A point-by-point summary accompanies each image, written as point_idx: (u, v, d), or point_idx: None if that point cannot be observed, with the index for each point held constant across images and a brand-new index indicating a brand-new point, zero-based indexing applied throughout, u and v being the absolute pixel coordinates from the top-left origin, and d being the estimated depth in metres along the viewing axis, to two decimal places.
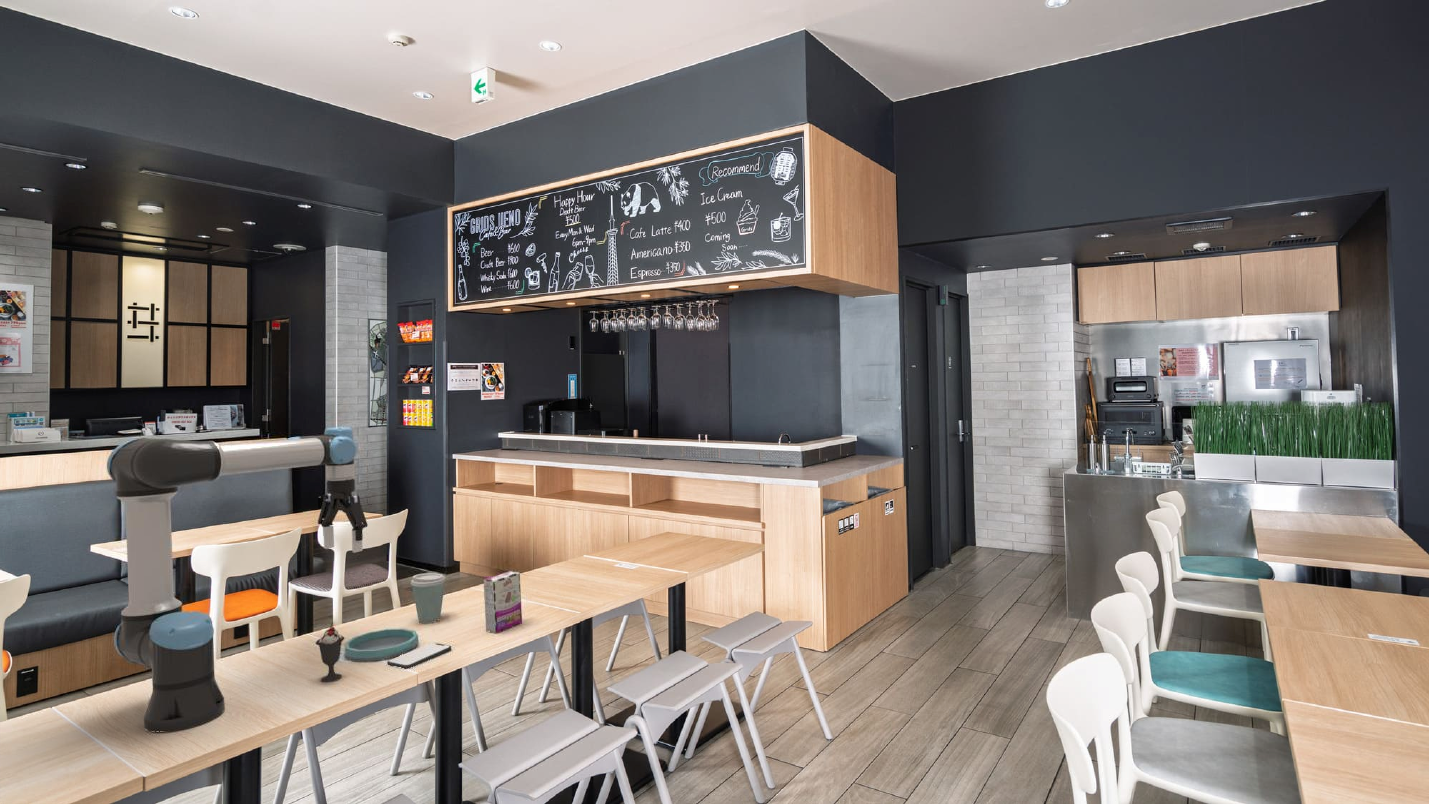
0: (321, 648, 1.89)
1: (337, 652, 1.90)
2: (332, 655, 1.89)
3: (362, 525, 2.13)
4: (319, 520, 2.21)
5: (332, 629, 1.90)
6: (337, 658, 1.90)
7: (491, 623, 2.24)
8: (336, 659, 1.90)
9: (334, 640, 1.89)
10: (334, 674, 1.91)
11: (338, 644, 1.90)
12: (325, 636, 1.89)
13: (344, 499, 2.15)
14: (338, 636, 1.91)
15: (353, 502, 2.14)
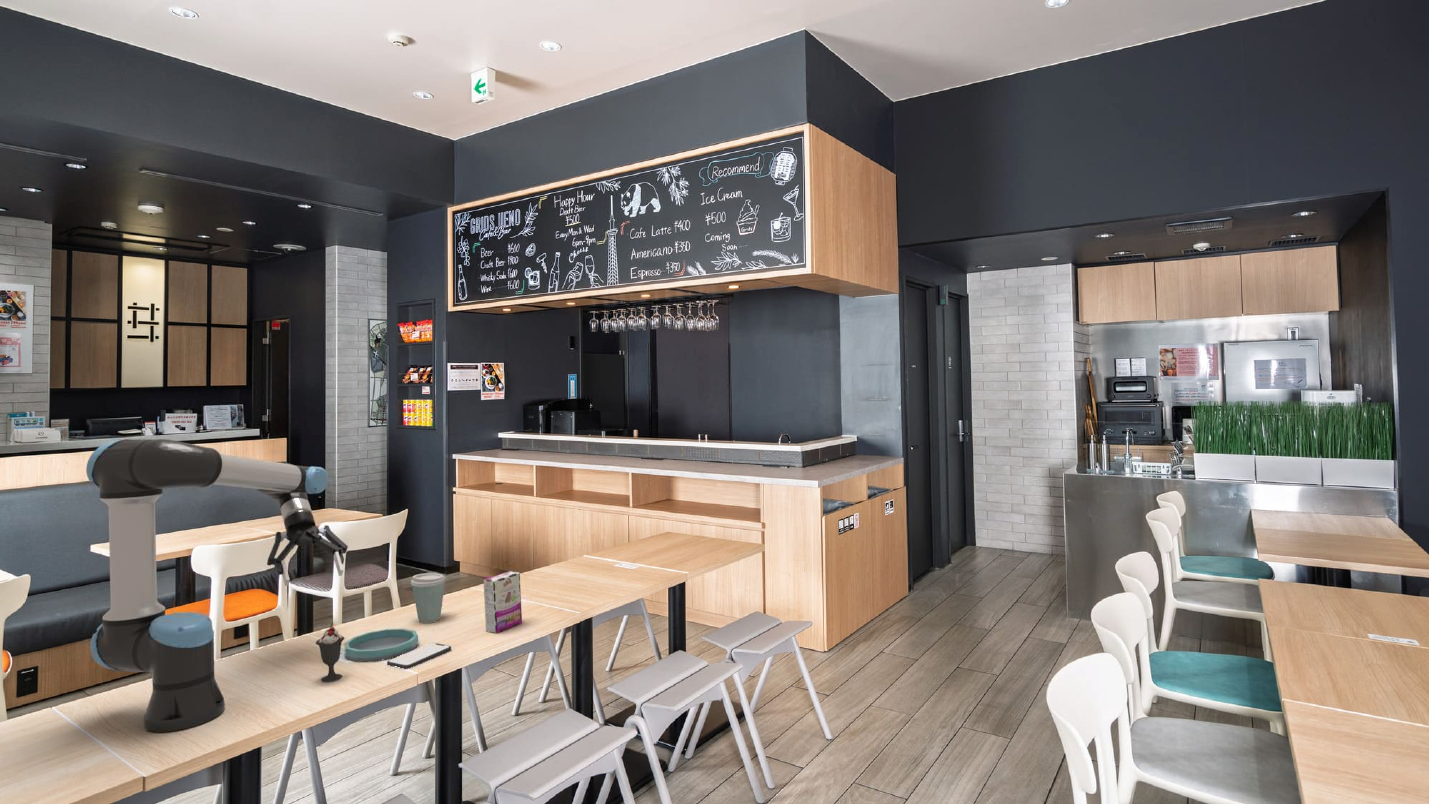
0: (321, 648, 1.89)
1: (337, 652, 1.90)
2: (332, 655, 1.89)
3: None
4: (271, 556, 2.00)
5: (332, 629, 1.90)
6: (337, 658, 1.90)
7: (491, 623, 2.24)
8: (336, 659, 1.90)
9: (334, 640, 1.89)
10: (334, 674, 1.91)
11: (338, 644, 1.90)
12: (325, 636, 1.89)
13: (315, 529, 2.12)
14: (338, 636, 1.91)
15: None
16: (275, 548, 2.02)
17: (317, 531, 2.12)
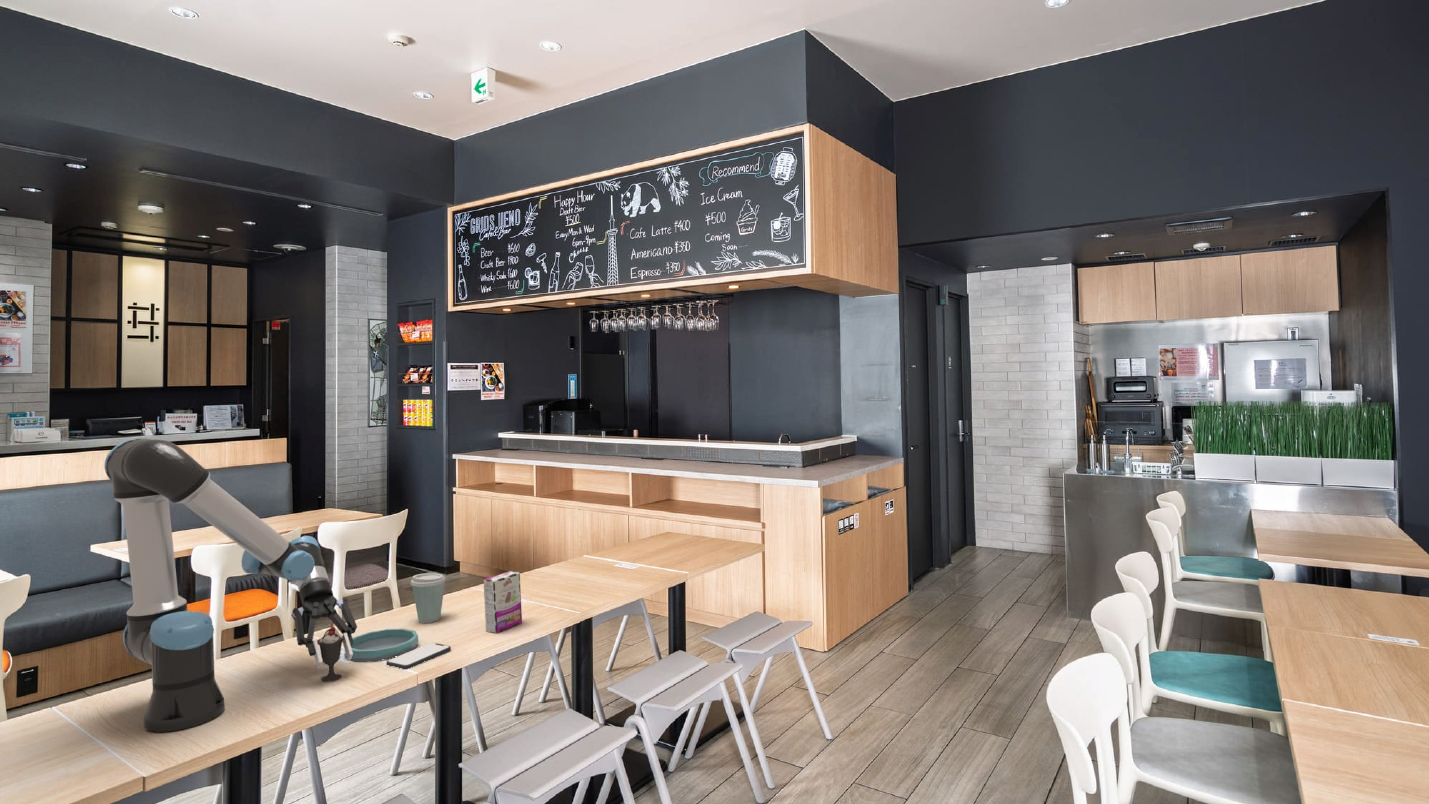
0: (321, 648, 1.89)
1: (337, 652, 1.90)
2: (332, 655, 1.89)
3: None
4: (301, 636, 1.88)
5: (333, 629, 1.90)
6: (337, 658, 1.90)
7: (491, 623, 2.24)
8: (336, 659, 1.90)
9: (335, 640, 1.89)
10: (334, 674, 1.91)
11: (338, 644, 1.90)
12: (325, 636, 1.89)
13: (332, 600, 1.98)
14: (338, 636, 1.91)
15: (347, 604, 2.00)
16: (301, 626, 1.89)
17: (334, 602, 1.98)
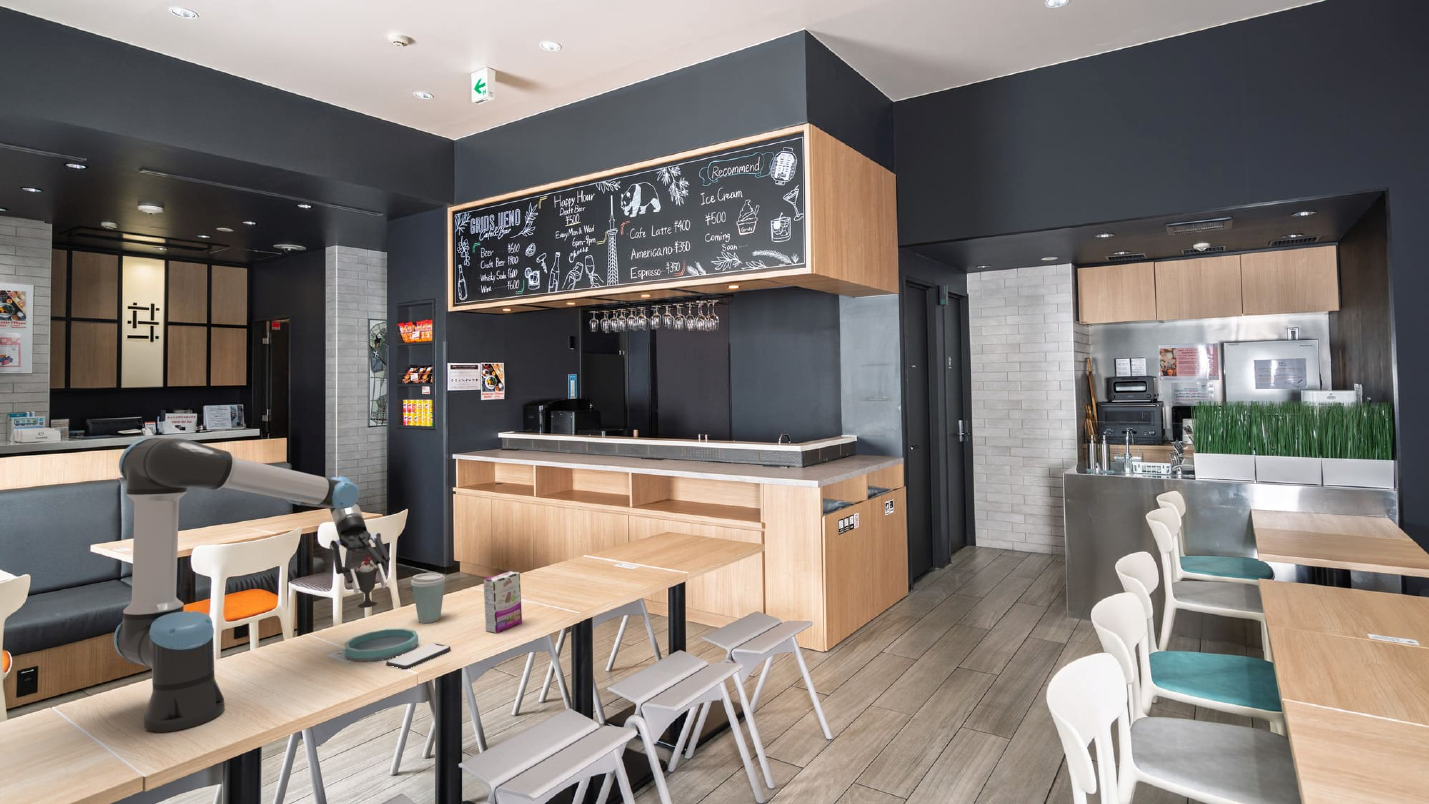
0: (358, 576, 2.02)
1: (372, 580, 2.04)
2: (368, 583, 2.03)
3: None
4: (339, 565, 2.01)
5: (368, 559, 2.04)
6: (373, 586, 2.04)
7: (491, 623, 2.24)
8: (372, 587, 2.04)
9: (370, 569, 2.03)
10: (370, 601, 2.05)
11: (374, 573, 2.04)
12: (362, 565, 2.03)
13: (367, 534, 2.12)
14: (373, 566, 2.05)
15: (380, 538, 2.13)
16: (338, 556, 2.03)
17: (368, 536, 2.12)
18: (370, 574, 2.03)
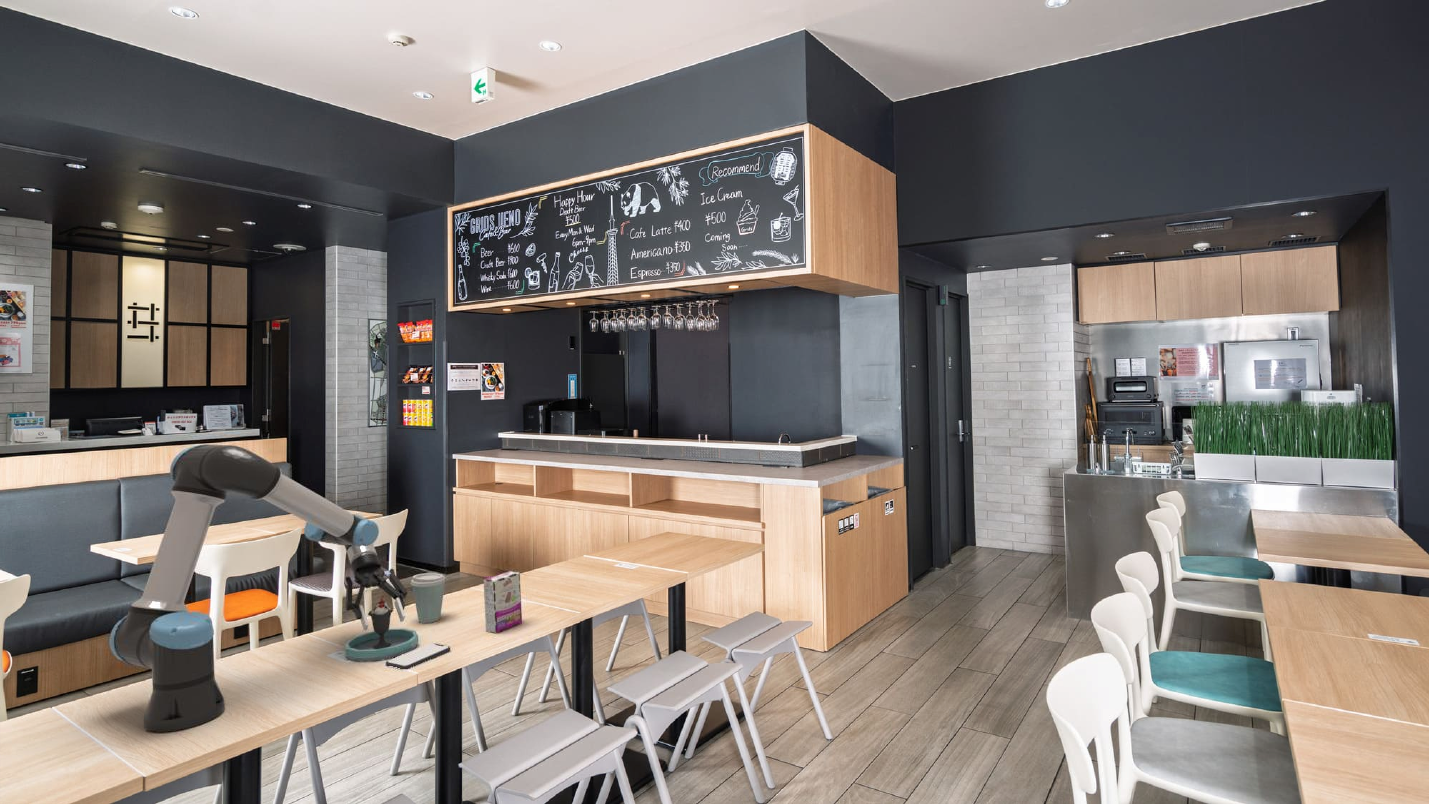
0: (373, 618, 2.10)
1: (387, 622, 2.11)
2: (383, 625, 2.10)
3: None
4: (349, 601, 2.08)
5: (382, 602, 2.11)
6: (387, 628, 2.11)
7: (491, 623, 2.24)
8: (386, 629, 2.11)
9: (385, 612, 2.10)
10: (384, 642, 2.12)
11: (388, 615, 2.11)
12: (376, 608, 2.10)
13: (381, 571, 2.19)
14: (388, 608, 2.12)
15: None
16: (350, 593, 2.10)
17: (382, 573, 2.19)
18: (385, 616, 2.10)
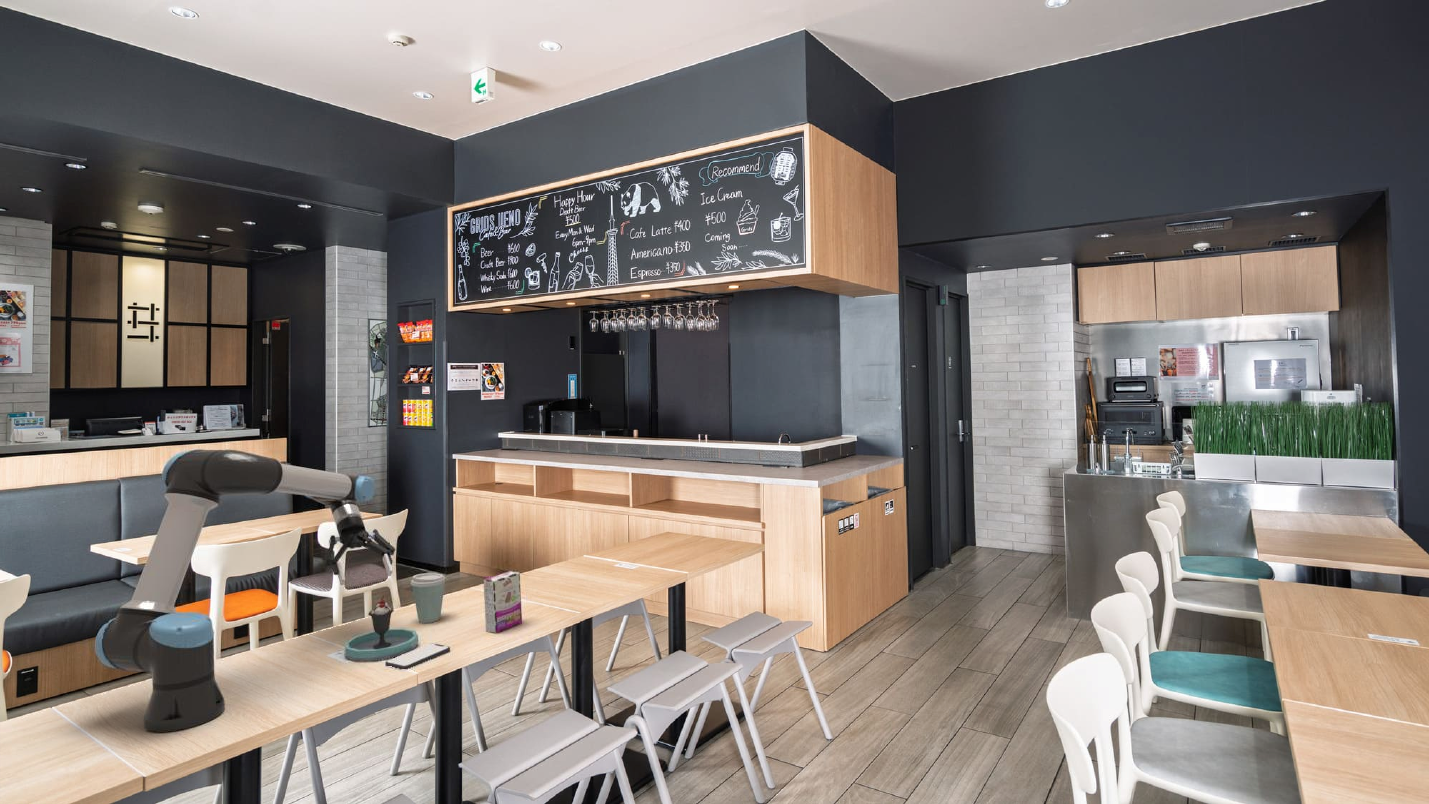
0: (373, 618, 2.10)
1: (387, 622, 2.11)
2: (383, 625, 2.10)
3: None
4: (328, 558, 2.16)
5: (383, 602, 2.11)
6: (387, 628, 2.11)
7: (491, 623, 2.24)
8: (386, 629, 2.11)
9: (385, 612, 2.10)
10: (384, 642, 2.12)
11: (388, 615, 2.11)
12: (377, 608, 2.10)
13: (365, 533, 2.28)
14: (388, 608, 2.12)
15: None
16: (330, 550, 2.19)
17: (367, 535, 2.29)
18: (385, 616, 2.10)
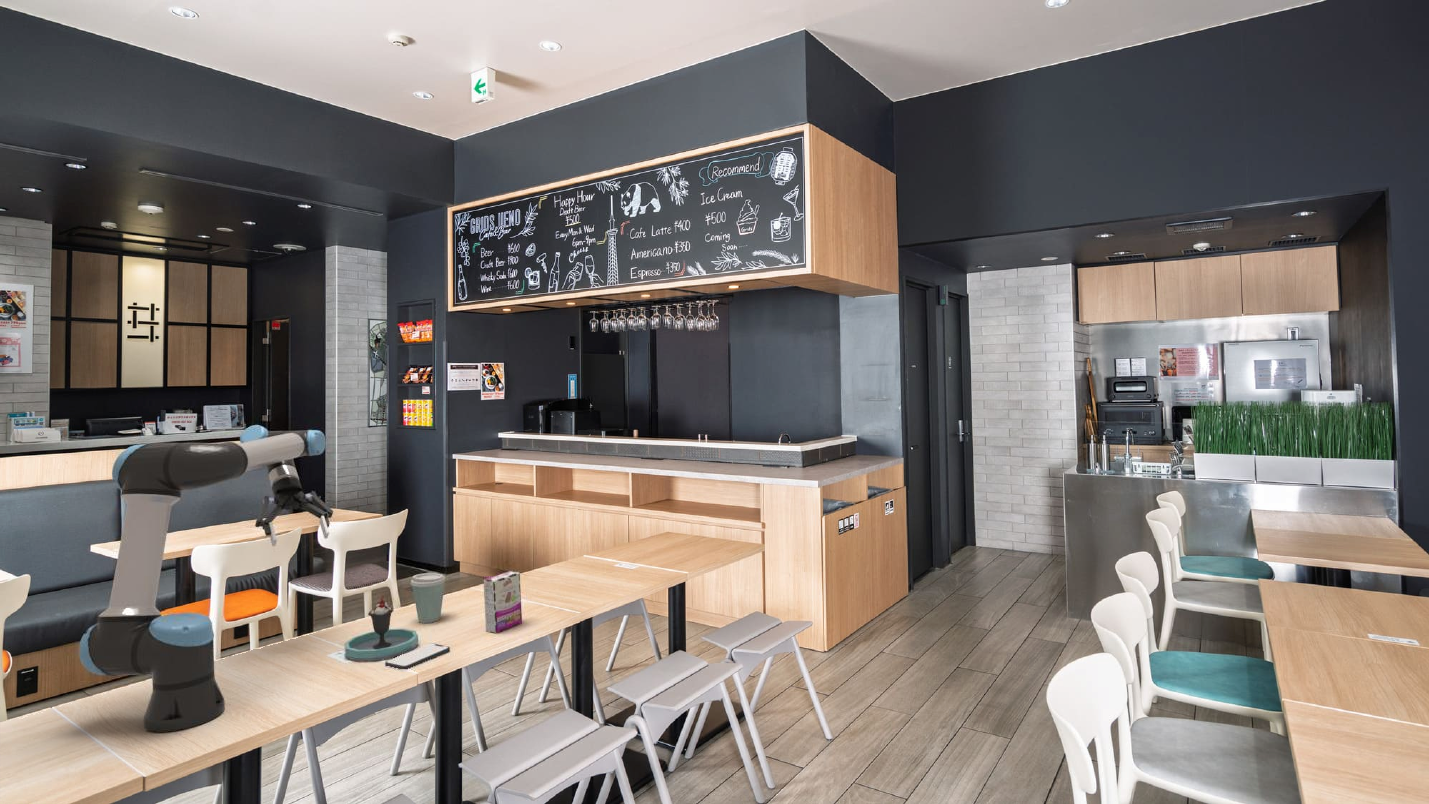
0: (373, 618, 2.10)
1: (387, 622, 2.11)
2: (383, 625, 2.10)
3: None
4: (259, 518, 2.09)
5: (383, 602, 2.11)
6: (387, 628, 2.11)
7: (491, 623, 2.24)
8: (386, 629, 2.11)
9: (385, 612, 2.10)
10: (384, 642, 2.12)
11: (388, 615, 2.11)
12: (377, 608, 2.10)
13: (302, 495, 2.21)
14: (388, 608, 2.12)
15: None
16: (263, 511, 2.11)
17: (304, 496, 2.21)
18: (385, 616, 2.10)
